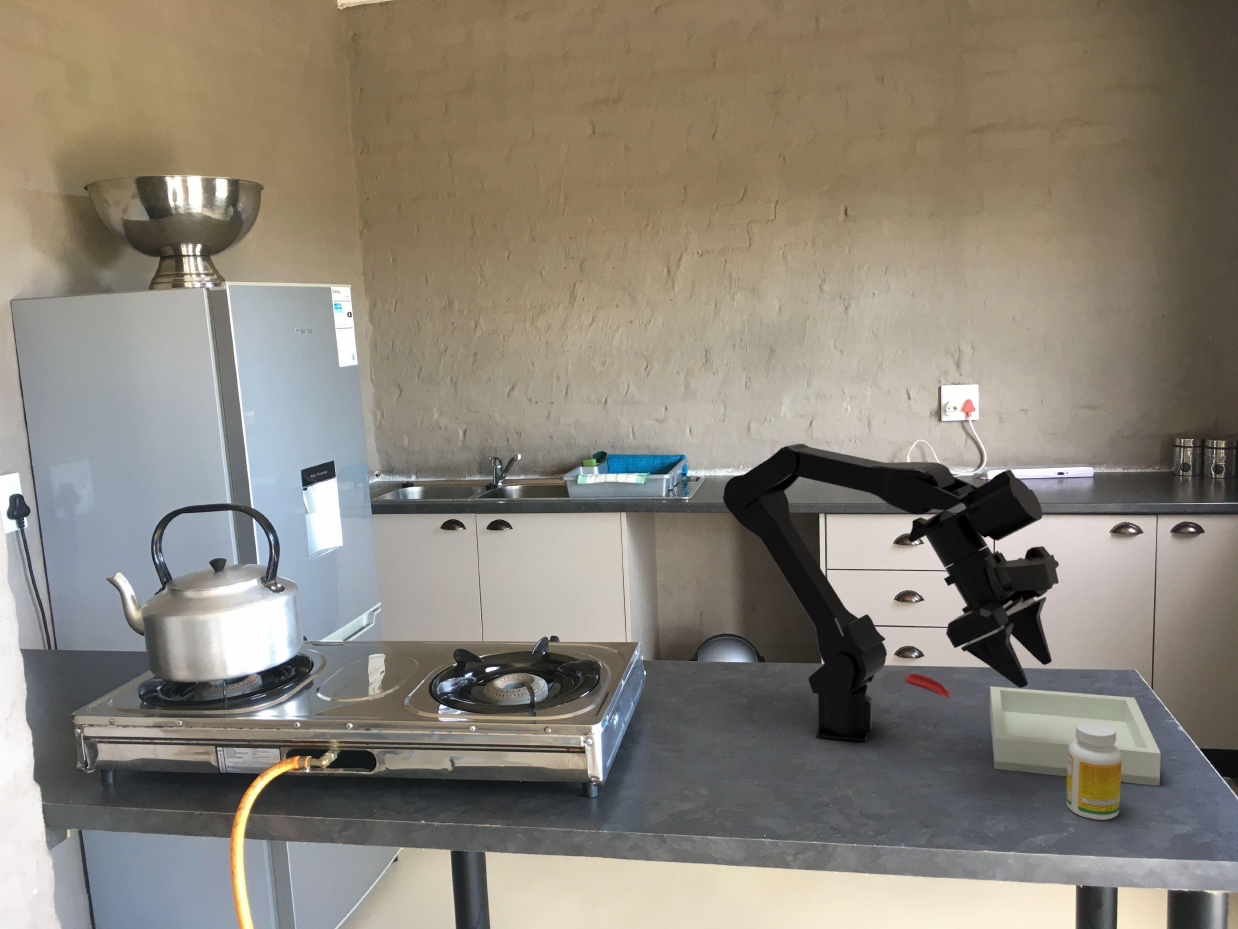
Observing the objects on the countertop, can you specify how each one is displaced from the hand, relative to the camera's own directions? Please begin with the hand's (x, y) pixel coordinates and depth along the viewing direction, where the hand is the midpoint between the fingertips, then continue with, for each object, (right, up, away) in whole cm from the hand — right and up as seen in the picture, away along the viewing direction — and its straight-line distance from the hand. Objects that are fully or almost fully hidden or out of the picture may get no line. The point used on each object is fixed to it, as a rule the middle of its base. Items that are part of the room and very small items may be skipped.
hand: (1036, 674), depth 116 cm
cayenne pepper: (-3, -9, +33) cm, 35 cm away
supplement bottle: (+4, -14, -6) cm, 16 cm away
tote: (+8, -11, +10) cm, 18 cm away
